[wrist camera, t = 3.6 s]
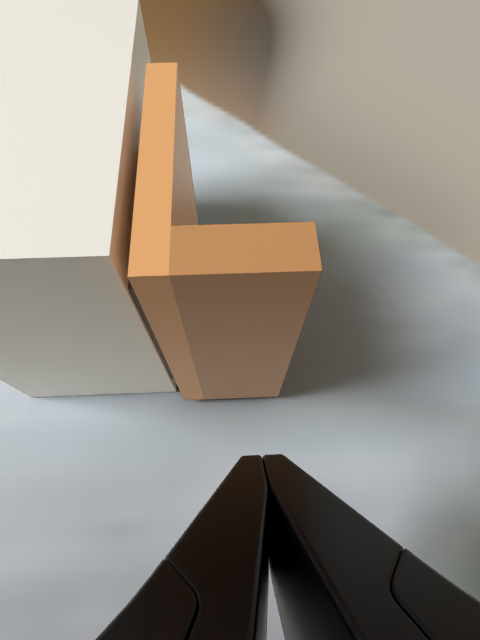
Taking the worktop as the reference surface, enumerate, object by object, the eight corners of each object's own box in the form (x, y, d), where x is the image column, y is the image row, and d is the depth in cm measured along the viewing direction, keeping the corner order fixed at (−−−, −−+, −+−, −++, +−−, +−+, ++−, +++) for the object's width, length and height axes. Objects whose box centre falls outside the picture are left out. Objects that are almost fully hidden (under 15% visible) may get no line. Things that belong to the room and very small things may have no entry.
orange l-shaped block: (278, 396, 17) (322, 270, 8) (184, 400, 17) (127, 276, 8) (267, 261, 19) (291, 60, 11) (186, 263, 19) (146, 63, 11)
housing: (178, 391, 17) (114, 255, 8) (31, 397, 17) (-200, 264, 8) (183, 196, 22) (144, -30, 13) (66, 200, 22) (-57, -27, 13)
